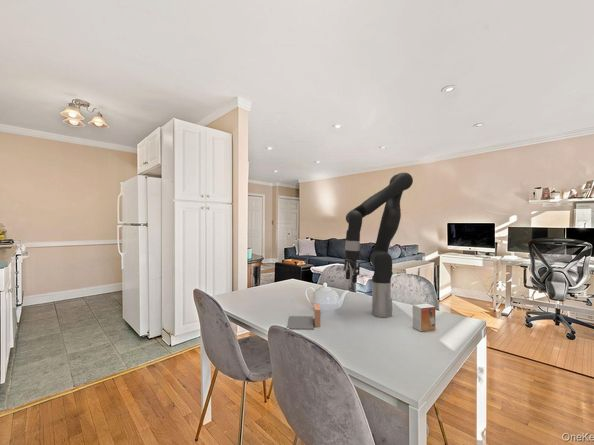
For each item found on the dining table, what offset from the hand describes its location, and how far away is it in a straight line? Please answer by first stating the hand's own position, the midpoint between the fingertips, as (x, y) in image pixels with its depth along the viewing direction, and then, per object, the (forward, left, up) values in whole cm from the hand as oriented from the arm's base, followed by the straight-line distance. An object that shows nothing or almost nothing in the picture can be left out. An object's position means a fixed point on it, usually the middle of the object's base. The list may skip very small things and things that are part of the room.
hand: (350, 280), depth 137 cm
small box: (-30, +16, -18) cm, 39 cm away
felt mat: (+26, +10, -18) cm, 33 cm away
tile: (+18, +10, -18) cm, 27 cm away
